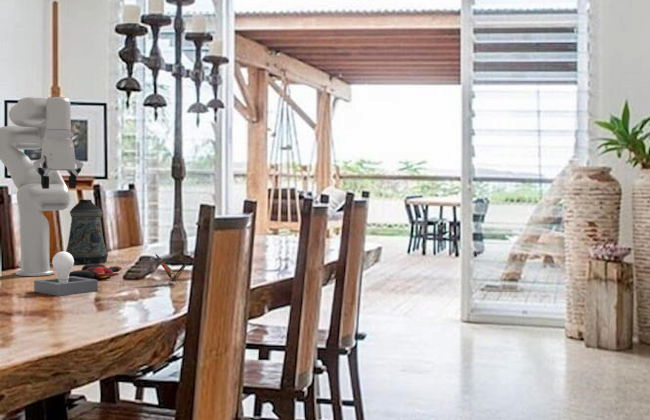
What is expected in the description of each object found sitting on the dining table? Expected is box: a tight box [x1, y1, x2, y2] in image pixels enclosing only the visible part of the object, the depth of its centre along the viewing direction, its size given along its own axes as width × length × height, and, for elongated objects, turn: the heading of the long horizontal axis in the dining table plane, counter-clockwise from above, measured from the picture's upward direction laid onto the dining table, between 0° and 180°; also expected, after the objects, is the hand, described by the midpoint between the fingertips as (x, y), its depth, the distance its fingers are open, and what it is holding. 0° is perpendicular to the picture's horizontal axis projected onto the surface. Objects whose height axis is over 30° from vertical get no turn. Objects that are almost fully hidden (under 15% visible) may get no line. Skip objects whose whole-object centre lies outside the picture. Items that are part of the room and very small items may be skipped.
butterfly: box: [155, 253, 192, 286], centre depth 241 cm, size 12×10×10 cm
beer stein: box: [65, 199, 109, 266], centre depth 303 cm, size 16×19×25 cm
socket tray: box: [33, 276, 99, 297], centre depth 226 cm, size 13×13×3 cm
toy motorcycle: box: [69, 263, 122, 280], centre depth 258 cm, size 25×5×16 cm
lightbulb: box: [51, 250, 75, 283], centre depth 226 cm, size 6×6×11 cm
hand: (59, 188), depth 247 cm, fingers open, 9 cm apart
